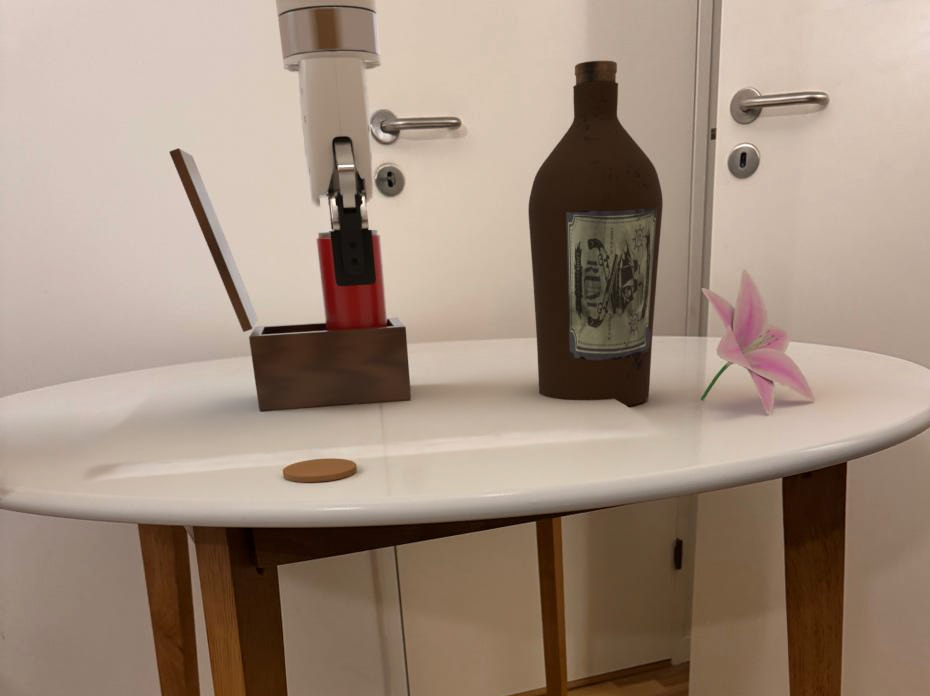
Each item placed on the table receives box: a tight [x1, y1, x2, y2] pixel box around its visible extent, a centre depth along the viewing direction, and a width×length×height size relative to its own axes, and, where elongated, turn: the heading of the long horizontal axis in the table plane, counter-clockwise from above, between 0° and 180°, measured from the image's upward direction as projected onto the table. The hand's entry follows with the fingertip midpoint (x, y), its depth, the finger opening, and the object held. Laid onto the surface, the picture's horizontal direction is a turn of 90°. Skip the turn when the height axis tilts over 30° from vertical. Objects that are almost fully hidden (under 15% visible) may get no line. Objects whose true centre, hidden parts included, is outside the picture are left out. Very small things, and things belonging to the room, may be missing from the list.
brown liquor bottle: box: [527, 60, 664, 407], centre depth 75 cm, size 11×11×25 cm
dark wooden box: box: [248, 317, 412, 413], centre depth 82 cm, size 13×8×7 cm, turn 99°
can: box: [316, 229, 388, 331], centre depth 80 cm, size 5×5×13 cm
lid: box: [169, 148, 259, 333], centre depth 76 cm, size 14×8×1 cm
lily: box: [700, 269, 816, 416], centre depth 75 cm, size 12×12×10 cm
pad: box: [282, 457, 358, 483], centre depth 61 cm, size 5×5×1 cm
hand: (354, 281), depth 79 cm, fingers open, 9 cm apart
